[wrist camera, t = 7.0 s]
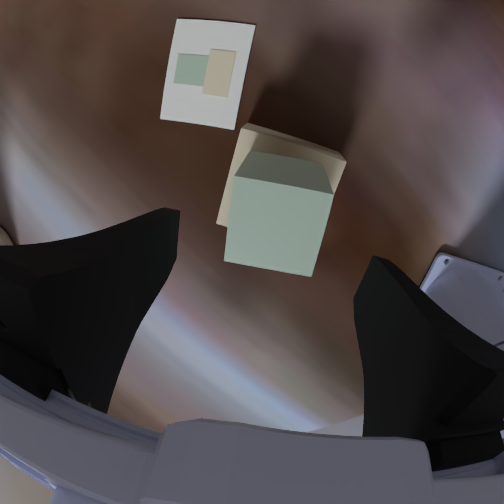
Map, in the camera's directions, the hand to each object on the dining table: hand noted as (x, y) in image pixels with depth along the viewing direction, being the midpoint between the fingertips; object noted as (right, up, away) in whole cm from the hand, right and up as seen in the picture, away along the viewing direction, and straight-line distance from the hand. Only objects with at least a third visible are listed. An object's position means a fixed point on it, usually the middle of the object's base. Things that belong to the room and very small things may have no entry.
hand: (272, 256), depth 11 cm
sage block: (+1, +4, +6) cm, 7 cm away
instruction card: (-4, +11, +5) cm, 13 cm away
